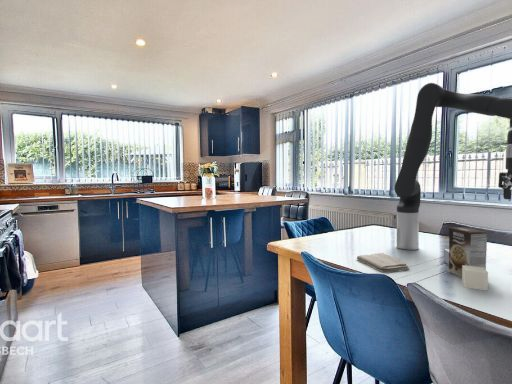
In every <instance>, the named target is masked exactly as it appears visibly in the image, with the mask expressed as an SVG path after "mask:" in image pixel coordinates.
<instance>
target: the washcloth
mask: <svg viewBox="0 0 512 384" xmlns="http://www.w3.org/2000/svg"><path fill="white" fill-rule="evenodd" d="M357 259H358V261H359V260H360V261H359V262H361V261H362V262H361V263H363V262H364V264H365V263H366V264H365V265H367V266H370V267H371V268H373V267H374V268H373V269H375V268H376V269H375V270H377V269H378V270H377V271H379V270H380V271H379V272H381V271H382V272H381V273H393V271H394V272H400V271H399V270H403V271H408V270H410V268H409V266H408V264H407V263H406V262H405V261H402V260H401V258H398V257H397V258H396V257H394V256H391V255H389V254H387V253H384V252H382V253H381V252H379V253H377V252H375V253H372V254H361V255H357V256H356V260H357ZM384 271H385V272H384Z"/></svg>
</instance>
